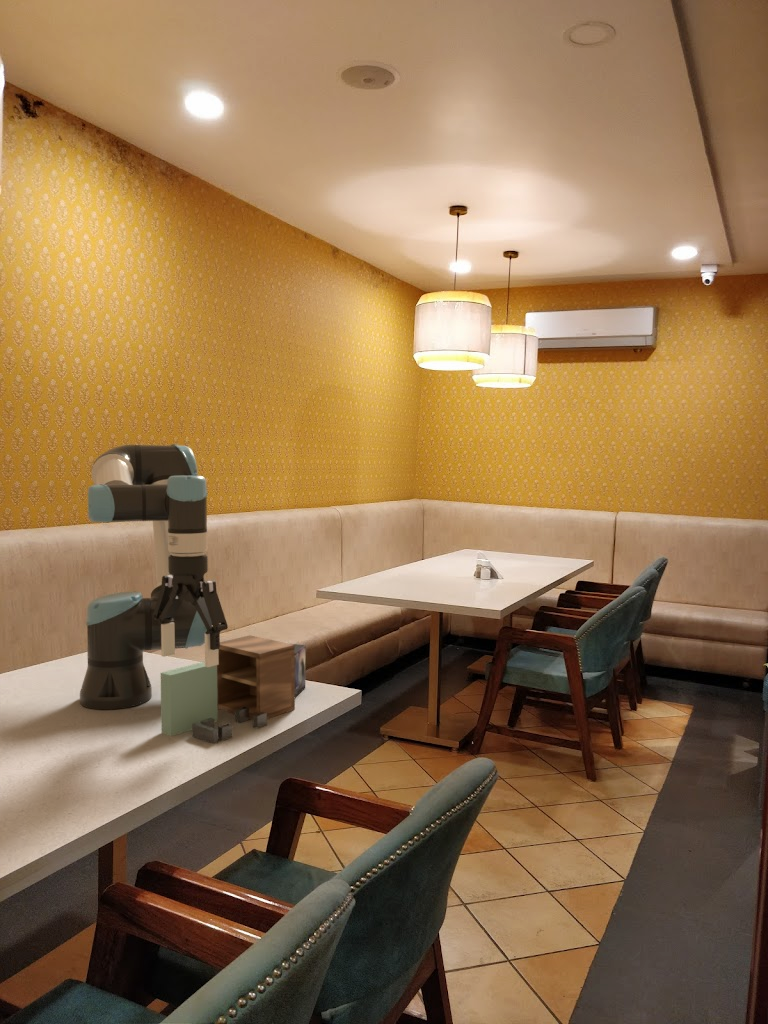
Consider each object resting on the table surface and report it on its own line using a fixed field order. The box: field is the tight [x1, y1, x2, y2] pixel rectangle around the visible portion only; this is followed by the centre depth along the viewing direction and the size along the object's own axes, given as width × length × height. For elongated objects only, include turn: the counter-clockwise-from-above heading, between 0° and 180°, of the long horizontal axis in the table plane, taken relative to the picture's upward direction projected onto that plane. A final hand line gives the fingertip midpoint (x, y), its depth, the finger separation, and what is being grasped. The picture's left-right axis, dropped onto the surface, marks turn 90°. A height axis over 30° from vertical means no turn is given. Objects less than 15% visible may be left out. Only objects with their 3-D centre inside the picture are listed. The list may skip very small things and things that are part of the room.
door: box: [160, 661, 219, 737], centre depth 162 cm, size 3×12×12 cm, turn 142°
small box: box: [292, 643, 307, 698], centre depth 184 cm, size 11×6×10 cm, turn 168°
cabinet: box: [217, 634, 296, 720], centre depth 173 cm, size 14×10×14 cm
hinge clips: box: [191, 707, 268, 745], centre depth 160 cm, size 6×14×2 cm, turn 142°
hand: (189, 660), depth 161 cm, fingers open, 13 cm apart
